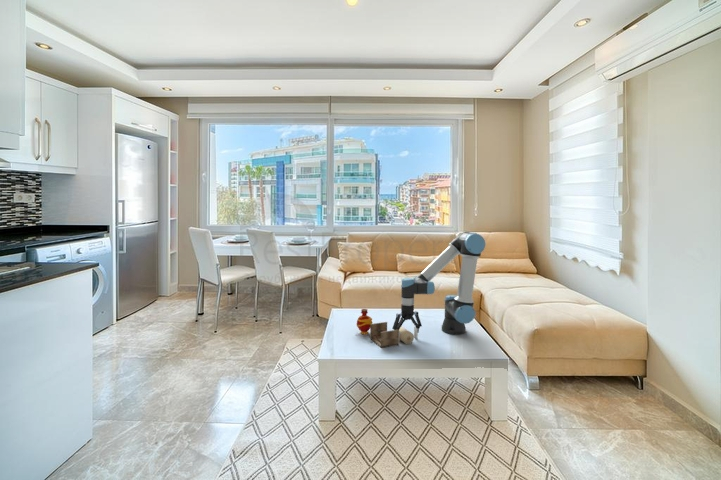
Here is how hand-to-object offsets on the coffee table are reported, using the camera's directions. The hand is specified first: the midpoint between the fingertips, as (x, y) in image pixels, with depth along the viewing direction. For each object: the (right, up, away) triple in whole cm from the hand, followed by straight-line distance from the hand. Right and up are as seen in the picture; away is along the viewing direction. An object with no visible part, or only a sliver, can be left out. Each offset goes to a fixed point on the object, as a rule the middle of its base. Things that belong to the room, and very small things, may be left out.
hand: (407, 339), depth 208 cm
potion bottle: (-25, +1, +12) cm, 28 cm away
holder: (-14, 0, -2) cm, 14 cm away
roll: (0, 0, 0) cm, 0 cm away
